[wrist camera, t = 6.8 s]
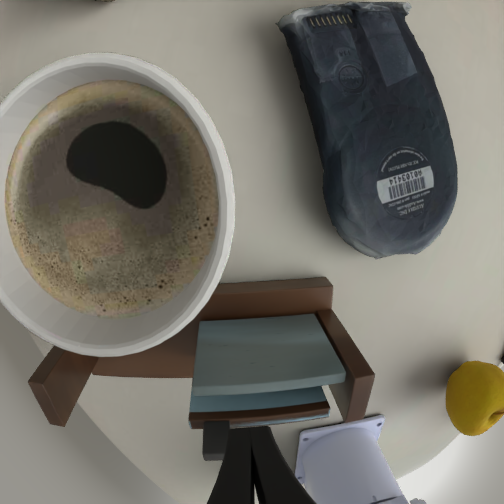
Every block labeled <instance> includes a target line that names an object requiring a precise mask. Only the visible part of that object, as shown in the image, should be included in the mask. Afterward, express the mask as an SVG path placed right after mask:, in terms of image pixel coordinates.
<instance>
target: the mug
mask: <svg viewBox="0 0 504 504" xmlns="http://www.w3.org/2000/svg"><path fill="white" fill-rule="evenodd" d="M234 228H235V193H234V185H233V177H232V171H231V167H230V164H229V160H228V157H227V153H226V150H225V146H224V144H223V142H222V140H221V138H220V136H219V133H218V131H217V129H216V127H215V125H214V123H213V121H212V119H211V118H210V116H209V115H208V113H207V112H206V111H205V109H204V108H203V106H202V105H201V104H200V102H199V101H198V99H197V98H196V97H195V96H194V95H193V94H192V93H191V92H190V91H189V90H188V89H187V88H186V87H185V86H184V85H183V84H182V83H181V82H180V81H179V80H177V79H176V78H174V77H173V76H171V75H170V74H168V73H167V72H165V71H164V70H162V69H161V68H159V67H158V66H156V65H154V64H151V63H149V62H146V61H144V60H141V59H139V58H136V57H133V56H128V55H123V54H117V53H112V52H102V53H85V54H80V55H75V56H70V57H66V58H63V59H60V60H58V61H55V62H53V63H51V64H48V65H46V66H44V67H42V68H41V69H39V70H37V71H36V72H34V73H33V74H31V75H30V76H28V77H26V78H25V79H24V80H23V81H22V82H21V83H19V84H18V85H17V86H16V87H15V88H14V89H13V90H12V91H11V92H10V93H9V94H8V95H7V96H6V97H5V98H4V100H3V101H2V102H1V103H0V302H1V303H2V304H3V305H4V307H5V308H6V309H7V310H8V311H9V312H10V313H11V314H12V315H13V317H14V318H15V319H16V320H18V321H19V322H20V323H21V324H22V325H23V326H25V327H26V328H27V329H28V330H29V331H31V332H32V333H34V334H35V335H37V336H38V337H40V338H42V339H43V340H45V341H46V342H49V343H51V344H53V345H55V346H57V347H59V348H62V349H64V350H68V351H71V352H75V353H78V354H82V355H89V356H97V357H113V356H123V355H128V354H133V353H138V352H141V351H144V350H146V349H149V348H151V347H154V346H156V345H159V344H160V343H162V342H164V341H165V340H167V339H168V338H170V337H172V336H173V335H175V334H177V333H178V332H179V331H180V330H181V329H183V328H184V327H185V326H186V325H187V324H188V323H189V322H191V321H192V320H193V319H194V318H195V317H196V315H197V314H198V313H199V312H200V310H201V309H202V308H203V307H204V306H205V304H206V303H207V302H208V301H209V299H210V297H211V295H212V294H213V292H214V290H215V288H216V286H217V285H218V283H219V281H220V279H221V277H222V274H223V271H224V268H225V266H226V263H227V260H228V257H229V254H230V249H231V244H232V239H233V234H234Z"/></svg>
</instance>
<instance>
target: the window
mask: <svg viewBox="0 0 504 504" xmlns="http://www.w3.org/2000/svg"><path fill="white" fill-rule="evenodd" d="M332 296H333V285H332V284H331V283H330V281H329V280H328V279H327V278H326V277H319V278H305V279H291V280H276V281H260V282H243V283H225V284H218V285H217V286H216V288H215V290H214V292H213V294H212V295H211V297H210V299H209V301H208V302H207V303H206V304H205V306H204V307H203V308H202V309H201V310H200V312H199V313H198V314H197V315H196V317H195V318H194V319H193V320H192V321H191V322H189V323H188V324H187V325H186V326H185V327H184V328H183V329H181V330H180V331H179V332H178V333H177V334H175V335H173V336H172V337H170V338H168V339H167V340H165V341H164V342H162V343H160V344H159V345H156V346H154V347H151V348H149V349H146V350H144V351H141V352H138V353H133V354H128V355H123V356H113V357H97V356H89V355H82V354H78V353H75V352H71V351H68V350H64V349H62V348H59V347H57V346H55V345H54V346H53V348H52V349H51V350H50V352H49V353H48V354H47V356H46V357H45V358H44V360H43V361H42V362H41V364H40V365H39V367H38V368H37V369H36V371H35V372H34V373H33V375H32V376H31V378H30V379H29V381H28V383H29V385H30V387H31V389H32V391H33V393H34V395H35V397H36V399H37V401H38V403H39V405H40V407H41V409H42V411H43V412H44V414H45V416H46V418H47V420H48V421H49V423H50V424H52V425H57V426H62V427H65V425H66V423H67V421H68V419H69V416H70V414H71V412H72V410H73V408H74V406H75V404H76V402H77V400H78V398H79V396H80V394H81V392H82V390H83V388H84V386H85V384H86V382H87V380H88V378H89V376H90V374H91V373H92V374H93V375H101V376H117V377H142V378H193V381H192V390H193V395H194V396H216V395H237V394H252V393H264V392H275V391H284V390H293V389H301V388H309V387H316V386H323V385H329V388H330V390H331V392H332V394H333V397H334V399H335V401H336V404H337V406H338V408H339V410H340V413H341V415H342V417H343V420H344V422H345V423H349V422H354V421H358V420H363V419H364V415H365V412H366V408H367V405H368V401H369V397H370V393H371V389H372V386H373V382H374V377H375V374H374V372H373V371H372V369H371V367H370V366H369V364H368V363H367V361H366V360H365V358H364V357H363V355H362V354H361V352H360V351H359V349H358V348H357V346H356V345H355V343H354V342H353V340H352V339H351V337H350V336H349V334H348V333H347V331H346V330H345V328H344V327H343V325H342V324H341V322H340V321H339V319H338V318H337V316H336V315H335V313H334V312H333V310H332V309H331V308H332Z"/></svg>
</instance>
